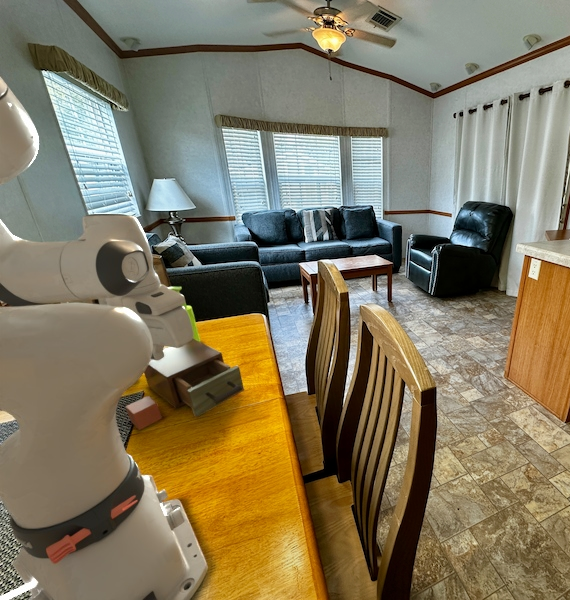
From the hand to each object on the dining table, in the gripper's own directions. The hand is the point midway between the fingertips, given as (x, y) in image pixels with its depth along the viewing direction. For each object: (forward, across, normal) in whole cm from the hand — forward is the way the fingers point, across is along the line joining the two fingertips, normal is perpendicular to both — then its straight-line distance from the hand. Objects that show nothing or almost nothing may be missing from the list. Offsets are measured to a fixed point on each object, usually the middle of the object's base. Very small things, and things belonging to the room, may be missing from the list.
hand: (155, 358), depth 69 cm
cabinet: (+15, -7, +11) cm, 20 cm away
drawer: (+15, +4, +7) cm, 17 cm away
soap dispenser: (+16, -24, +27) cm, 39 cm away
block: (+15, -5, -3) cm, 16 cm away
